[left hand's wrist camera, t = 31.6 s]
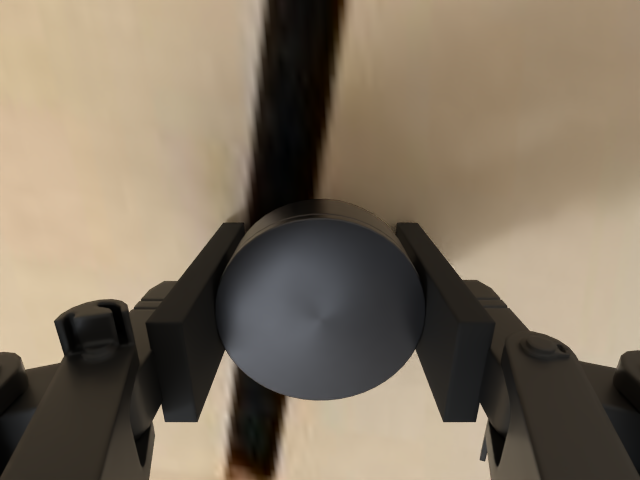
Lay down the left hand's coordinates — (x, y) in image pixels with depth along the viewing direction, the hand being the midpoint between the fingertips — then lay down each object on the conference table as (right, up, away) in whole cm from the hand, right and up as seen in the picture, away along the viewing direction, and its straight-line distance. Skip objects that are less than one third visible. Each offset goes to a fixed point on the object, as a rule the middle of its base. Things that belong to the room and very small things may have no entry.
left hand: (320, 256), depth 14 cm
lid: (0, -1, -4) cm, 4 cm away
